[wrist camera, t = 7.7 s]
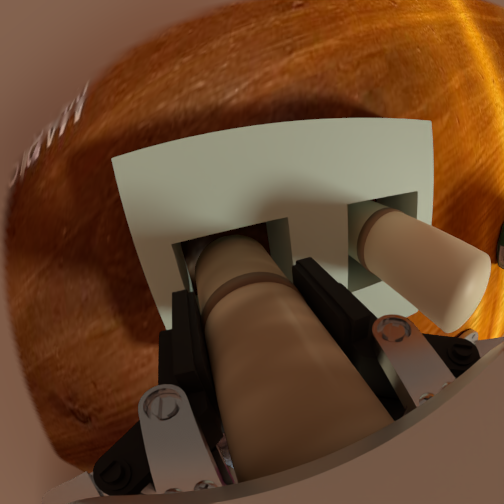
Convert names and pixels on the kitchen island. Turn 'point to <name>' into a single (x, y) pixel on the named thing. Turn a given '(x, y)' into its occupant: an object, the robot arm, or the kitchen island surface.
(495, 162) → the kitchen island surface
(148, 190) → the seat board
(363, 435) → the peg
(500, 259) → the coffee jar
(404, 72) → the kitchen island surface
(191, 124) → the kitchen island surface
